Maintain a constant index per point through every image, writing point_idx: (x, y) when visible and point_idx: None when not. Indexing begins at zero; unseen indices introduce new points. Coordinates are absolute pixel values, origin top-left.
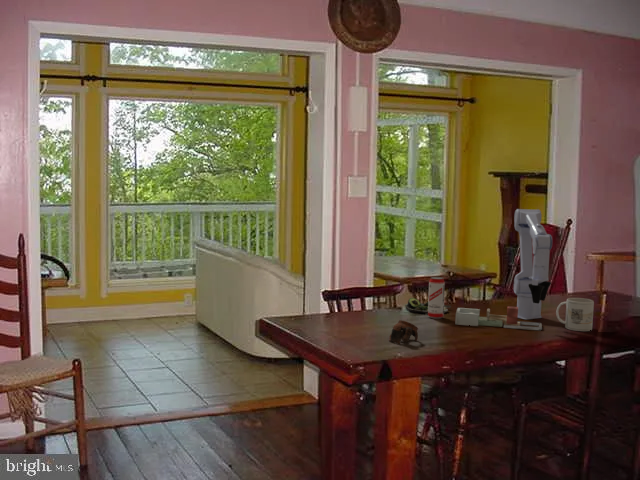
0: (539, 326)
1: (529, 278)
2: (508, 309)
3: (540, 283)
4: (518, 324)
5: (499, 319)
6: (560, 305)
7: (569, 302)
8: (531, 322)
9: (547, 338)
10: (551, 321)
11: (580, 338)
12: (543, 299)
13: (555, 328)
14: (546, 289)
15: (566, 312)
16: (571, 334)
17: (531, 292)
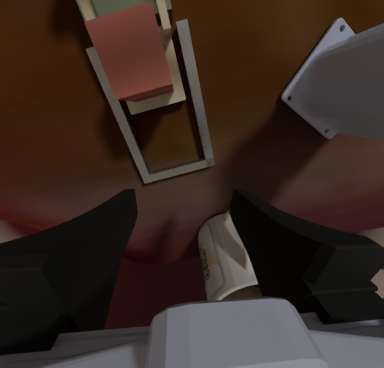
0: (160, 172)
1: (154, 322)
2: (91, 36)
3: (295, 279)
4: (138, 106)
5: (82, 7)
6: (243, 245)
7: (222, 287)
8: (206, 137)
9: (63, 212)
10: (285, 171)
11: (127, 257)
12: (231, 212)
13: (197, 199)
14: (255, 269)
15: (225, 245)
16: (153, 238)
17: (73, 221)
